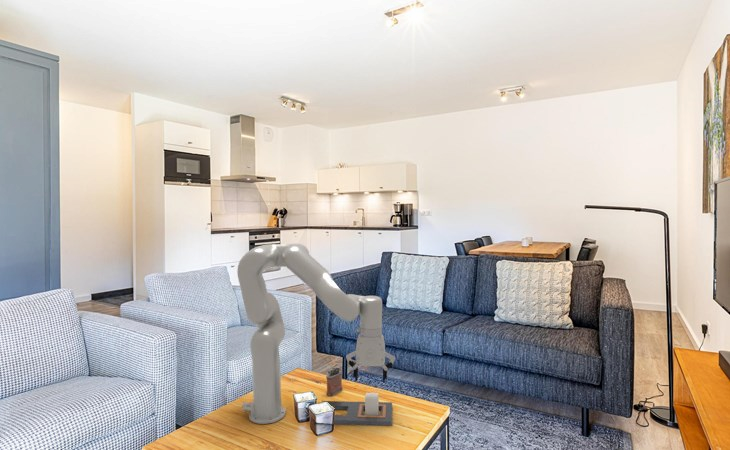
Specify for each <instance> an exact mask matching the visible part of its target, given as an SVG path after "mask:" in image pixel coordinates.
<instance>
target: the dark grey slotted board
mask: <svg viewBox="0 0 730 450" xmlns="http://www.w3.org/2000/svg"><path fill="white" fill-rule="evenodd" d="M322 402H328V403H329V404H330V405H331V406H333V407H334V408H335V410H334V411H347V412H346V414H333V415H334V424H333V425H337V426H338V425H340V426H341V425H343V426H374V427H375V426H385V427H393V402H390V401H389V402H388V401H387V402H385V401H384V402H383V401H379V412H381V413H380V415H378V416H369V415H365V414H364V413H365V401H341V400H339V401H337V400H336V401H335V400H322V401H321V403H322Z"/></svg>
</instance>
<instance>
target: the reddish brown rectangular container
mask: <svg viewBox="0 0 730 450" xmlns="http://www.w3.org/2000/svg"><path fill="white" fill-rule="evenodd" d="M342 375H343V371H342V370H340V366H338V365H337V366H333V367H332V368H331V369H328V370H327V374H326V376H325V378H326V396H327V397H333V396H335V395H336V396H337V394H340V393H341V392H342V391H343V387H342V385H343V384H342V378H343V377H342Z"/></svg>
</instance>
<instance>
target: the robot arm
mask: <svg viewBox="0 0 730 450" xmlns="http://www.w3.org/2000/svg"><path fill="white" fill-rule="evenodd" d="M309 251H310V250H309V249H308V248H307V247H306V245H304V244H301V243H283V244H282V243H279V244H278V243H277V244H271V243H270V244H263V245H259V246H255V247H253V248H251V249H250V250H249V251H247V252H246V253H245V254H244V255H242V257H241V259H240V260H239V262H238V265H237V278H238V282H239V283H238V284H239V287H240V292H241V297H242V301H243V306H244V310H245V314H246V317H247V319H248V320H249V322H250V323H251V324H254V325H257V328H258V329H257V330H255V332H254V333H253V335H252V336H251V340H250V343H249V344H250V354H251V363H252V364H251V365H252V390H253V391H252V392H253V393H252V395H253V396H252V397H253V399H252V401H251V402H242V405H241V408H242V410H243V412H248V411H249V413H248V418H249V421H250V422H253V423H254V424H258V425H259V424H260V425H265V424H273V423H276V422H278V421H280V420H282V419H283V418H284V417H285V416H286V411H287V410H286V408H285V407H284V406H283V405H282V388H281V387H282V385H281V384H282V383H281V381H282V378H281V357H280V346H281V345H280V344H281V343H282V342H283V340H284V338H285V334H286V330H285V329H286V328H285V324H284V320H283V316H282V312H281V309H280V307H281V306H280V304H279V301H278V299H277V298H276V296H275V295H274V294H272V293H271V292H268V290H267V285H266V281H265V279H264V276H263V273H264V272H265V270H267V269H270V268H279V267H280V268H281V267H285V268H287V269H288V270H289V271H290V272H291V273H292V274H294V275H295V276H296V277H297V278H299V279H300V280H301V281H302V282H303V283H304V285H306V286H307V287H309V289H310V290H312V292H313V293H314V295H315V296H316V297H317V298H318V299H319V300H320V301H321V303H322V304H324V306H326V307H327V309H329V310H330V311H331V313H333V314H334V315H336V317H338V318H339V319H341V320H342V321H344V322H352V321H353V322H354V321H355V320H356V319H358V316H360V323H359V325H360V326H359V327H356V329H355V330H356V331H355V332H357V333H359V334H358V336H357V338H356V339H357V340H356V348H355V350H353V351H352V352H349V353H348V354H346V356H345V358H346V361H347V362H348V365H349V366H350V367H352V369H353V374H352V376H353V378H355V379H354V380H355V382H357V381H358V379H359V366H362V367H381V368H382V382H383V383H385V381H386V380H387V379H388V371H389V369H390V368H391V367H392V366H393V364H394V363H395V361H396V357H395V355H393V354H391V353H389V352H387V351H386V345H385V337H384V335H383V333H382V332H383V331H382V330H383V318H382V317H383V300H382V298H381V296H377V295H365V296H364V295H361V294H360V295H359V294H354V293H353V294H352V293H348V294H346V293H345V292H344V290H342V289H341V288H340V287H339V286H338V285H337V283H336V282H335V281H334V279H333V277H332V275H331V273H330V271H329V270H328V269H326V267H324V266H323V265H322V264H321V263H320V262H318V260H316V259H315V258H314V257H312V255H311V254H310V252H309ZM353 357H355V361H354V360H353V359H352V358H353ZM386 358H387V359H389V362H387V363H386Z"/></svg>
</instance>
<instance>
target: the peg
mask: <svg viewBox="0 0 730 450" xmlns="http://www.w3.org/2000/svg"><path fill="white" fill-rule="evenodd" d="M379 396H380V395H379V393H378V392H365V397H364V402H365V411H364V413H365V414H364V415H369V416H380V415H379V412H380V411H379V402H380V401H379Z"/></svg>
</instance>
